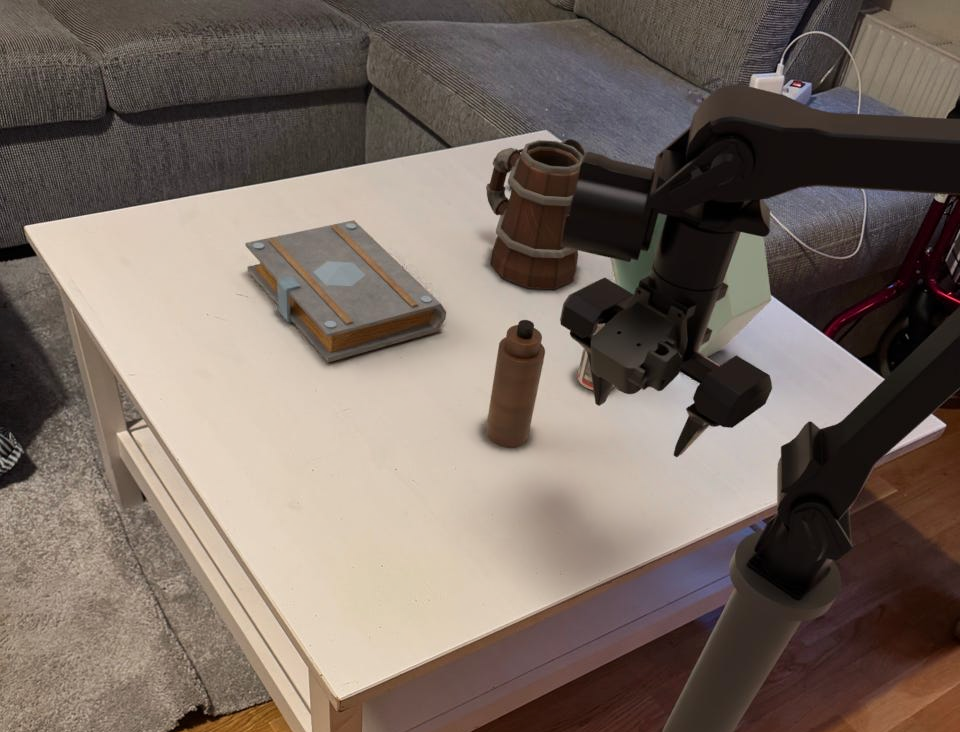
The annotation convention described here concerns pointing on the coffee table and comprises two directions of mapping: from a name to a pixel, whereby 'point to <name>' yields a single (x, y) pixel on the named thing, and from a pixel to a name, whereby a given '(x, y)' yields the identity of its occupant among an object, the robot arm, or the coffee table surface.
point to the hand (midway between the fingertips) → (638, 428)
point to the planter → (742, 277)
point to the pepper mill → (515, 385)
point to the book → (343, 290)
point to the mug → (534, 213)
